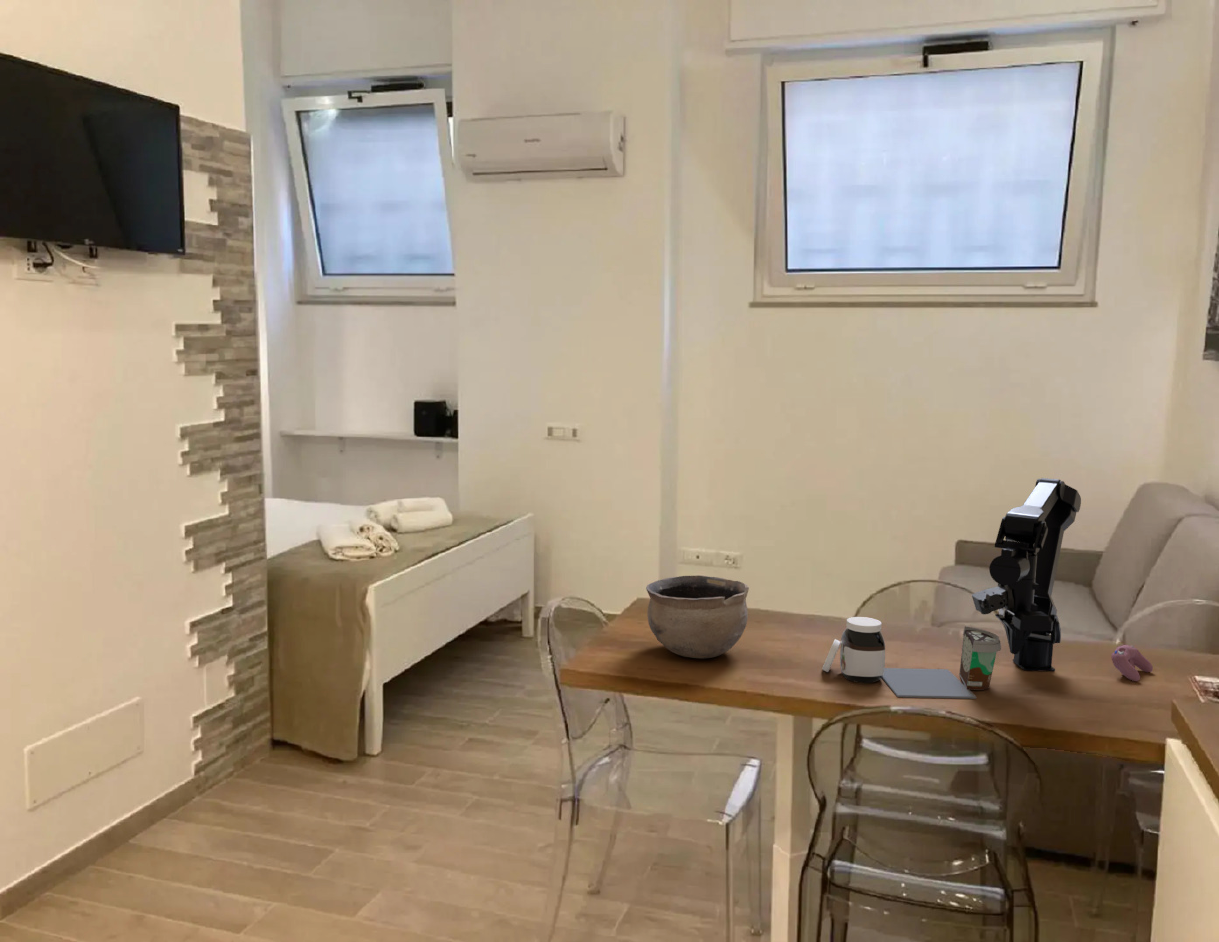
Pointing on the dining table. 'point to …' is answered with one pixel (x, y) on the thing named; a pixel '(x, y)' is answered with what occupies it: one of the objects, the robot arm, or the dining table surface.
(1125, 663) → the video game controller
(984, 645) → the food container
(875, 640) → the spread jar
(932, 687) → the mat
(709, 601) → the ceramic bowl
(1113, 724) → the dining table surface
